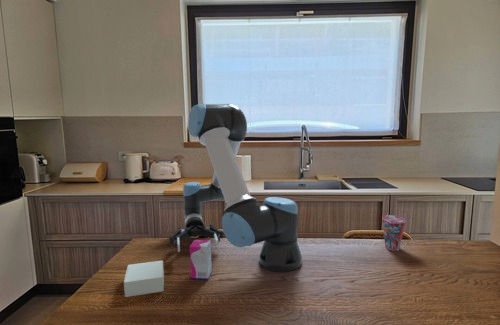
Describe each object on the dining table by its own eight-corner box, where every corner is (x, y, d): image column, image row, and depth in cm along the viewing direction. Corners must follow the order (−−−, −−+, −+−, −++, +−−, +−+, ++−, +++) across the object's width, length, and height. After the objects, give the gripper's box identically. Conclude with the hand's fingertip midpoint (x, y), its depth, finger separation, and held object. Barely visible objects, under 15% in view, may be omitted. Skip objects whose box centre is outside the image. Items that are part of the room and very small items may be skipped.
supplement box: (212, 271, 108) (211, 239, 106) (208, 280, 103) (207, 247, 101) (195, 270, 109) (194, 238, 107) (190, 279, 103) (189, 246, 101)
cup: (378, 242, 129) (379, 214, 127) (400, 243, 127) (402, 215, 125) (384, 253, 120) (386, 222, 117) (408, 254, 118) (410, 223, 116)
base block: (163, 274, 107) (162, 260, 106) (163, 292, 97) (162, 277, 96) (129, 278, 105) (128, 264, 104) (125, 298, 94) (123, 282, 93)
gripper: (224, 230, 137) (233, 251, 116) (164, 236, 131) (162, 260, 111) (223, 213, 135) (232, 232, 115) (163, 219, 130) (161, 239, 109)
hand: (198, 246), depth 113 cm, fingers open, 13 cm apart
